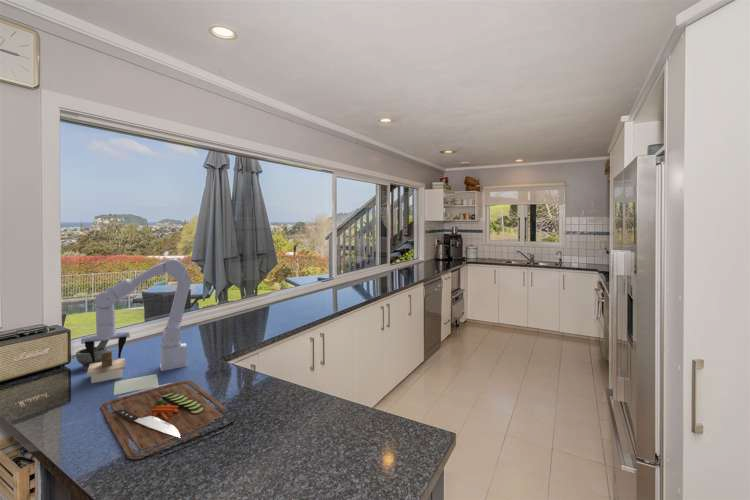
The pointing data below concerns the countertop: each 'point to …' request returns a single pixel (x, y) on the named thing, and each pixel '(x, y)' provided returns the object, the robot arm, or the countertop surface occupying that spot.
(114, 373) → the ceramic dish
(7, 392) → the countertop surface
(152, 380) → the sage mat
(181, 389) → the chopping board
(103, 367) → the birch lid
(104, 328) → the robot arm
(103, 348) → the mortar and pestle
